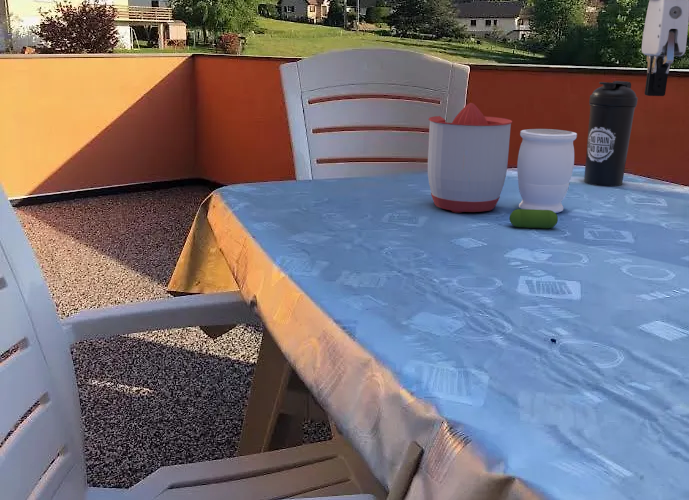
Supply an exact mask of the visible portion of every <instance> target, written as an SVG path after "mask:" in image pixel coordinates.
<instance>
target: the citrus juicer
mask: <svg viewBox="0 0 689 500" xmlns="http://www.w3.org/2000/svg"><path fill="white" fill-rule="evenodd" d="M428 121H429V128H428V129H429V131H428V132H429V133H428V134H429V135H428V149H427V150H428V151H427V178H428V185H429V190H430V196H431V198H432V201H433V204H434V205H435V206H436V207H437V208H440V209H443V210H447V211H451V212H452V213H455V214H457V213H458V214H461V213H465V212H466V213H480V212H490V211H492V210H494V209H495V207H496V206H497V204H498V202H499V200H500V198H501V194H502V191H503V188H504V185H505V182H506V177H507V171H508V164H509V163H508V161H509V150H510V139H511V138H510V137H511V126H512V124H513V120H511V119H508V118H504V117H496V116H485V115H484V113H483V112H482V111H481V110H480V108H479V107H477V105H476V104H475V103H474V102H469V103H467V104H466V106H464V107H463V108H462V109H461V110H460V111H459V112H458V114H456V116H454V119H453V120H452V122H446V119H445V118H443V117H442V116H441V115H437V116H429V118H428Z"/></svg>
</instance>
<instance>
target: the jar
mask: <svg viewBox="0 0 689 500" xmlns="http://www.w3.org/2000/svg"><path fill="white" fill-rule="evenodd" d="M519 136H520V137H521V138H522V139H521V143H520V146H519V148H518V149H519V150H518V154H517V163H516V164H517V165H516V171H517V172H516V174H517V184H518V185H517V187H518V191H519V195H520V198H521V202H519V204H518V208H519V209H534V210H551V211H553V212H555V213H556V214H558V213H561V212H563V211H564V205H563V203H562V202H563V201H564V199H565V197H566V196H567V194H568V190H569V187H570V181H571V179H572V177H573V172H574V167H575V146H574V141H575V140H577V137H578V133H577V132H574V131H571V130H565V129H552V128H529V129H522V130H520V132H519Z"/></svg>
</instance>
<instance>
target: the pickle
mask: <svg viewBox="0 0 689 500" xmlns="http://www.w3.org/2000/svg"><path fill="white" fill-rule="evenodd" d="M558 220H559V217H558V215H557V213H555V212H553V211H551V210H534V209H521V208H517V209H514V210H512V211H511V213H510V215H509V222H510V224H511V225H512V226H513V227H515V228H523V229H524V228H525V229H527V228H528V229H552V228H554V227H555V226H556V225H557V223H558Z"/></svg>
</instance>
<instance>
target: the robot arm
mask: <svg viewBox="0 0 689 500" xmlns="http://www.w3.org/2000/svg"><path fill="white" fill-rule="evenodd" d="M642 32H643V33H642V38H641V39H642V40H641V53H642V54H643V55H644V56H646V62H647V69H646V79H645V87H644V96H647V97H664V96H666V90H667V85H668V76H669V73H670V69H671V65H672V64H673V63H674V60H675V57H682V56H683V55H685V54H686V51H687V41H688V32H689V0H648V4H647V10H646V15H645V20H644V26H643V31H642Z"/></svg>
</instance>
